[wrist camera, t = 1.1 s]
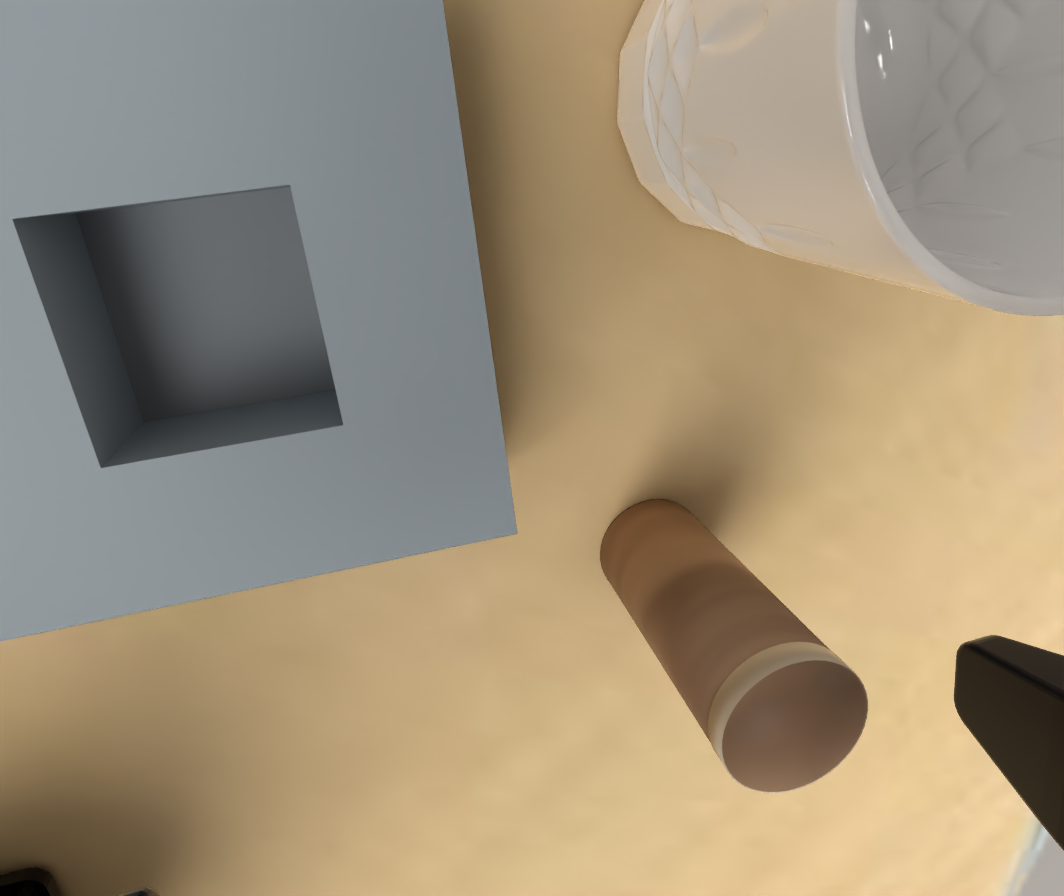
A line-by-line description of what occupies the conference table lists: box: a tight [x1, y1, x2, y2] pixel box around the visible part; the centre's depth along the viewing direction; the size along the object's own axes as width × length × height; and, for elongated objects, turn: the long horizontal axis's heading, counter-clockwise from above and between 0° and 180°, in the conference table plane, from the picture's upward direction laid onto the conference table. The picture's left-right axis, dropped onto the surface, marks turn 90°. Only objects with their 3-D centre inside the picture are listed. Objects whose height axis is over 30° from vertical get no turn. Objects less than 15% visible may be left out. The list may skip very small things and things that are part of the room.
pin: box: [600, 499, 868, 793], centre depth 18 cm, size 3×3×8 cm
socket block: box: [0, 0, 517, 641], centre depth 15 cm, size 11×11×4 cm
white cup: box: [617, 0, 1064, 316], centre depth 14 cm, size 8×8×10 cm
